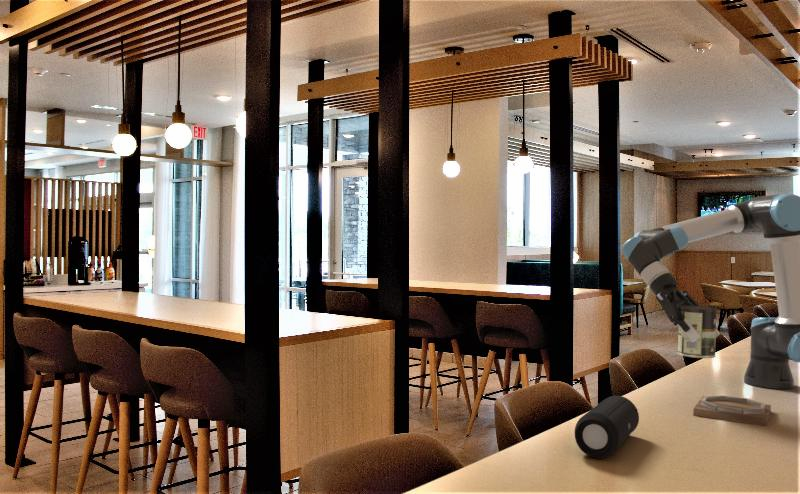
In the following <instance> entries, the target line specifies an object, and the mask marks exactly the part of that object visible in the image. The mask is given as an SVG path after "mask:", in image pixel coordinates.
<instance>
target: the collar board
mask: <svg viewBox="0 0 800 494" xmlns="http://www.w3.org/2000/svg"><path fill="white" fill-rule="evenodd" d="M771 406H772V405H771V404H768V403H767V404H766V403H764V402H760V401H758V400H755V399H751V398H745V397H740V396H733V395H723V394H721V395H703V396H701V398H700V400H699V401H697V403H696V404H695V406H694V407H693V415H692V416H696V417H702V418H708V419H716V420H722V421H723V420H725V421H729V422H731V421H732V422H736V423H737V422H738V423H742V424H743V423H745V424H752V425H756V426H757V425H759V426H765V427H767V425H768V422H769V419H770V415H771V412H772V411H771V409H772V408H771Z"/></svg>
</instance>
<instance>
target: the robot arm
mask: <svg viewBox="0 0 800 494" xmlns="http://www.w3.org/2000/svg"><path fill="white" fill-rule="evenodd" d="M752 231H755V232H756V231H759V232H760V231H762V232H763V233H762V234H763V239H764V240H765V241H767V242H768V243H769V246H770V253H771V260H772V261H771V262H772V271H773V277H774V286H775V292H776V301H777V310H778V316H777V317H754V318H753V319H752V320H751V325H750V355H749V356H750V357H749V363H748V365H747V367H746V370H745V372H744V375H743V382H744V383H745V384H747V385H750V386H754V387H759V388H766V389H777V390H788V389H793V388H795V380H794V376H793V373H792V371H791V367H790V364H789V363H790V361H792V362H794V363H800V196H799V195H796V194H793V193H792V194H790V193H779V194H771V195H761V196H756V197H752V198H750V199H748V200H745V201H741V202H739V203H736V204H732V205H729V206H727V207H726V209H725V210H721V211H717V212H713V213H710V214H706V215H701V216H698V217H694V218H693V217H692V218H690V219H687V220H683V221H678V222H676V223H670V224H667V225H663V226H660V227H656V228H651V229H648V230H647V229H645V230H640V231H637V232H636V233H635V234H634V235H633V237H630V238H628V240H626V241H625V242H624V243H623V245H622V247H621V252H622V255H623V256H624V257H625V259H626V260H627V261H626V262H628V263H630V265H631V267H633V269H634V270H635V271H636V272H637V273H638V275H639V277H641V278H642V280H643V282H644V283H645V284H646V285H647V286H649V289H650V290H651V291H652V293H653V294H654V295H655V299H656V300H657V301H658V303H659V304H660V306H661V308H662V309H663V311H664V313H665V314H666V316H667V319H668V320H669V322H671V323H672V325H673V326H678V327H679V326H680V327H681V328H682V330H683V331H684V332H685V333H686V335H687V336H688V337H689V338H690V340H691V341H692V342H693V343H694V342H695V341H697V340H698V339H699V338H700V337H701V336H700V335H699V334H698V332H697V331H696V330H695V329H694V327H693V326H692V325H691V324H690V323H689V321H688V320H687V319H684V318H683V315H682V312H681V310H680V308H679V306H683V305H694V306H701V305H700V303H698V302H697V301H696V299H694V298H693V297H692V296H691V295H690V294H689V292H688V291H687V290H685V289H684V290H683V291H681V290H679V289H678V288H677V285H678V281H677V279H676V278H675V277H674V275H672V274H671V273H670V270H668V268H667V267H666V265H664V264H663V262H662V261H661V260H662V259H664V258H666V257H668V256H670V255H673V254H675V253H676V252H679V251H681V250H682V249H684V248H686V247H687V246H688V244H689V243H693V242H697V241H700V240H705V239H709V238H712V237H716V236H721V235H725V234H728V233H732V232H734V233H735V234H741V233H743V232H752ZM683 319H684V320H683ZM720 335H721V332H720V331H719V330H718V329H717V328H716V338H717V337H719V336H720Z"/></svg>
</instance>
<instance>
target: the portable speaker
mask: <svg viewBox="0 0 800 494" xmlns="http://www.w3.org/2000/svg"><path fill="white" fill-rule="evenodd" d="M639 421H640V415H639V411H638V408H637V407H636V405H635V404H634V403H633V401H631V400H630V399H628V398H626V397H624V396H622V395H612V396H608V397H606V398H605V399H603V400H602V401H601V402H599V403H597V405H595V406H594V407H593V408H592V409H591V410H589V411H588V412H587V413H585V414H584V415H582V416H581V417H580V418H579V419H578V420H577V422H576V425H575V426H574V439H575V442H576V445H577V446H578V448H579V449H580V450H581V452H583V453H584V454H586V455H587V456H590V457H591V456H592V457H593V458H596V457H605V458H607V457H609V456H611V455H613V454H614V453H615V451H617V449H618V448H619V447H620V446H621V445H622V444H623V442H624V441H625V440H626V439H627V438H628V437H629V436H630V435H631V434H632V433H633V432H634V431H635V430H636V429H637V428H638V426H639Z"/></svg>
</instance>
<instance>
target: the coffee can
mask: <svg viewBox="0 0 800 494" xmlns="http://www.w3.org/2000/svg"><path fill="white" fill-rule="evenodd" d="M679 308H680V310H681V312H682V315H683V318H684V319H687V320H688V321H689V323H690V324H691V325H692V326H693V327H694V329H695V330H696V331H697V332H698V334H699V335H700V336H701V337H700V338H699V339H698V340H697V341H695V342H694V343H693V342H692V341H691V340H690V338H689V337H688V336H687V335H686V333H685V332H684V331H683V330H682V328H681V327H680V326H679V325H678V337H677V338H678V339H677V342H678V343H677V355H680V356H681V357H688V358H695V359H714V358H716V342H717V341H716V339H717V337H716V329H717V311H718V308H717V307H713V306H705V305H700V306H694V305H683V306H679ZM684 319H683V320H684Z"/></svg>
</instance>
